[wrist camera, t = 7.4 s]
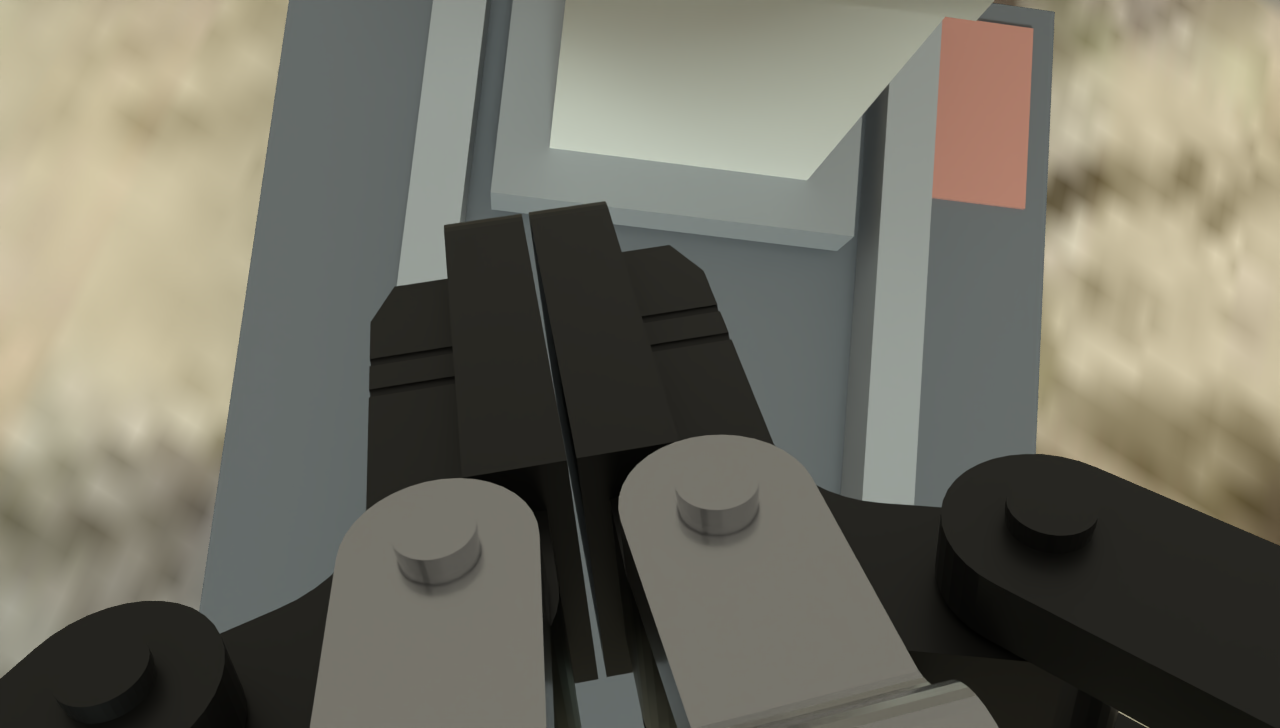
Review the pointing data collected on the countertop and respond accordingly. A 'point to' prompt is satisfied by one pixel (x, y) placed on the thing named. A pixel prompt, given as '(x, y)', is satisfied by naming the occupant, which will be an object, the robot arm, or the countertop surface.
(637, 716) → the breaker panel
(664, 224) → the lever
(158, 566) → the countertop surface
